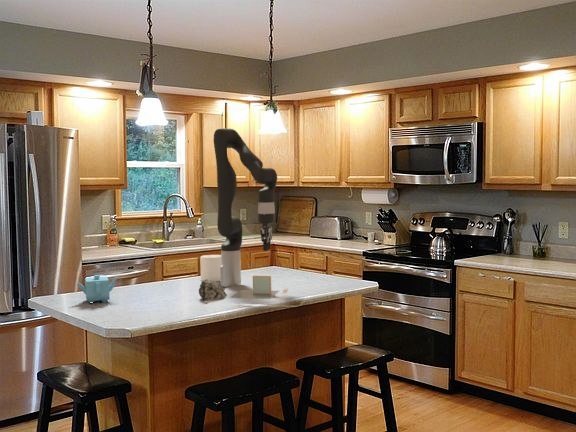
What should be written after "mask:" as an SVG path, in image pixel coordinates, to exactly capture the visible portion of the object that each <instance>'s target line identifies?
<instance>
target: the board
mask: <svg viewBox="0 0 576 432" xmlns="http://www.w3.org/2000/svg"><path fill="white" fill-rule="evenodd" d="M279 292H280V290H271V294H253V289H240V290H238V291H237V292H235V293H234V294H233V295H231V296H230V297H229V298H231V299H234V298H235V299H264V300H266V299H267V300H268V299H269V300H271V299H272V298H273V297H274V296H275V295H277V294H278V293H279Z"/></svg>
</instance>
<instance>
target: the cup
mask: <svg viewBox="0 0 576 432" xmlns="http://www.w3.org/2000/svg"><path fill="white" fill-rule="evenodd" d="M199 259H200V266H199V267H200V281H201V282H202V281H205V280H206V279H207V280H208V281H210V280H212V281H215V282H219V281H220V267H221V266H222V263H221V254H203V255H201V256H200V257H199Z"/></svg>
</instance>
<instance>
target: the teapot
mask: <svg viewBox="0 0 576 432" xmlns="http://www.w3.org/2000/svg"><path fill="white" fill-rule="evenodd" d="M119 278H120V276H115V277H113V278H112V279H111V283H110V280H109V278H108V277H107V276H101V275H99V274H95V275H93V277H85V278H84V285H85V286H84V285H83V284H82V283H80V282H76V286H77V287H78V288H79V289H80V290H81V291H82V292H83V293H84V295H85V299H86V301H87V302H88V303H89V302H94V303H95V301H96V302H98V301H101V303H103V302H105V303H108V301H109V300H110V299H111V297H110V292H112V291H113V289H114V287H115V283H116V281H117V280H118V279H119Z"/></svg>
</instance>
